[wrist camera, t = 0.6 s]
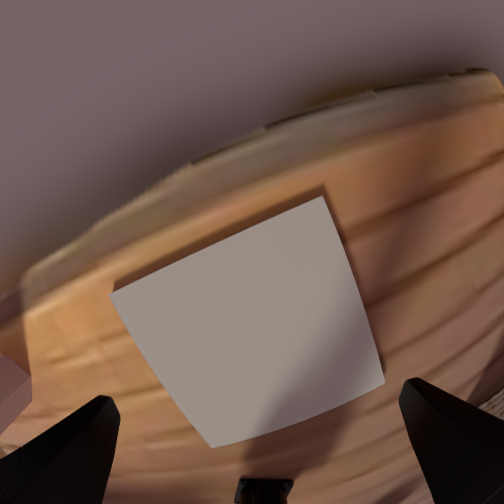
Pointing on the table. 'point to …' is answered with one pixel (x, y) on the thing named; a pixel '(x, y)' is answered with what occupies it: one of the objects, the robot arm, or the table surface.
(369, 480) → the table surface
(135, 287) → the white square plate
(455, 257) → the table surface
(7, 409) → the rose card box
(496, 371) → the table surface
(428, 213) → the table surface
